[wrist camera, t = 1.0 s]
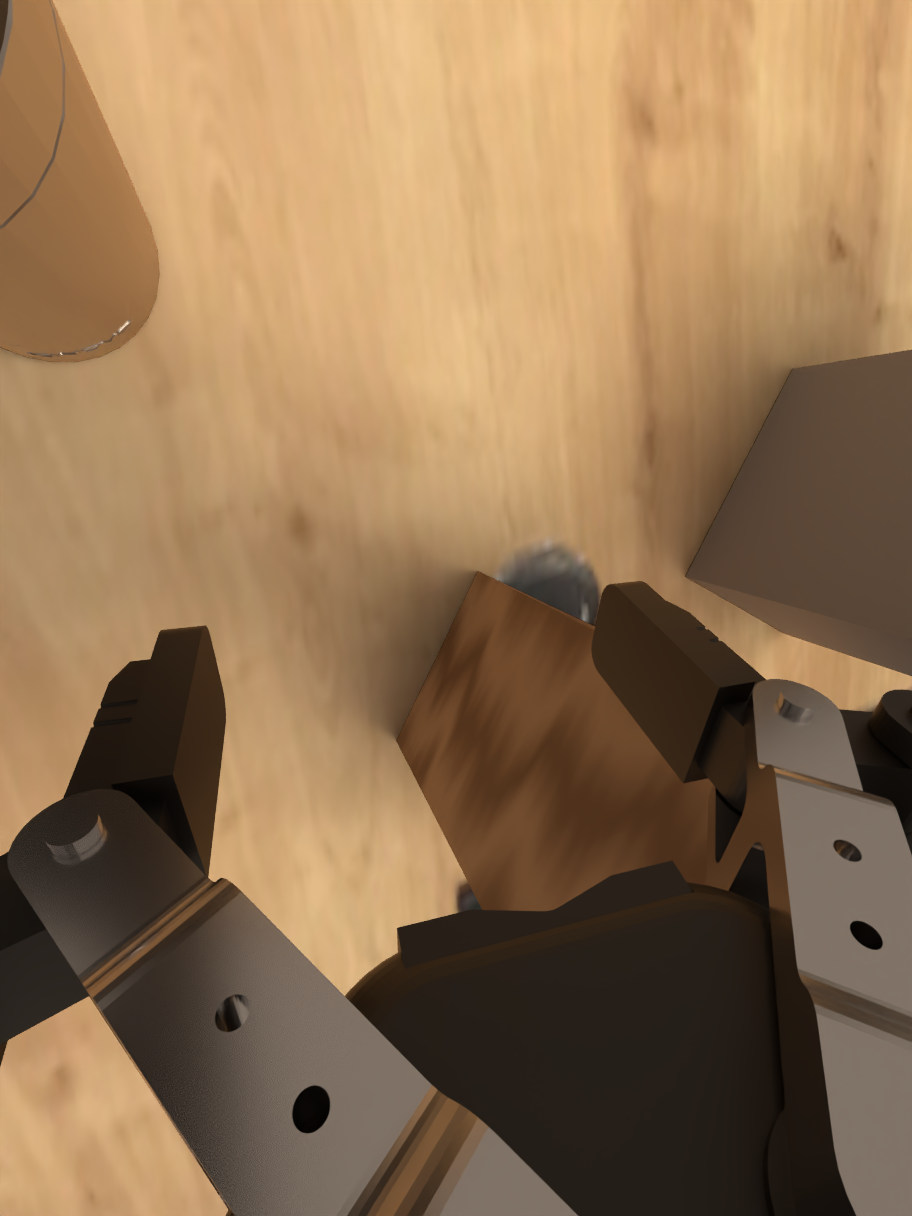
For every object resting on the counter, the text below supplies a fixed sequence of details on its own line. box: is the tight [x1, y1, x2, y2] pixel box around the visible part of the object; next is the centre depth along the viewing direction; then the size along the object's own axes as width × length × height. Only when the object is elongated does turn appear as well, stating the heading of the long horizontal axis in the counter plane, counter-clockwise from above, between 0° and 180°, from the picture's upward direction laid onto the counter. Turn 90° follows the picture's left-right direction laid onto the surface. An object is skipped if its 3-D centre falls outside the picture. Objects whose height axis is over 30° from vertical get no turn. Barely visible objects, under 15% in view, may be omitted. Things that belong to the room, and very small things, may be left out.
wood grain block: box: [397, 571, 713, 911], centre depth 24 cm, size 12×10×30 cm
